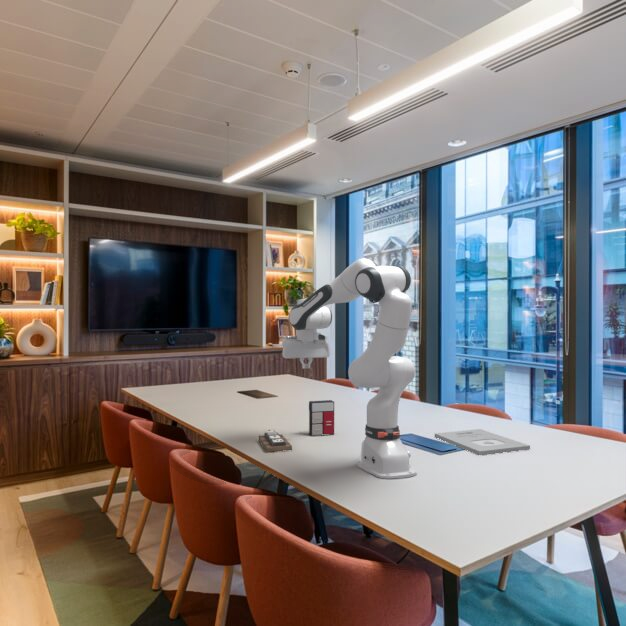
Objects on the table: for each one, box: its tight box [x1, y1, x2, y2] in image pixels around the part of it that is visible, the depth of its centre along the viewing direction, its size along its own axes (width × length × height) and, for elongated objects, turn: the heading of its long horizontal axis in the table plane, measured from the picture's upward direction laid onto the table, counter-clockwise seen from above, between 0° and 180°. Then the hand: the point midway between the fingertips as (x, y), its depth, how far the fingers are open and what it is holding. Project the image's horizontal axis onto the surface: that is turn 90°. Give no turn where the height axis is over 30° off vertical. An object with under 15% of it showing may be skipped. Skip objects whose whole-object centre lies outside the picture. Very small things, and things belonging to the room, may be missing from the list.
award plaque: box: [434, 428, 531, 456], centre depth 208 cm, size 25×30×2 cm
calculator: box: [308, 399, 335, 436], centre depth 222 cm, size 11×4×15 cm, turn 105°
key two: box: [265, 429, 279, 435], centre depth 210 cm, size 4×4×2 cm
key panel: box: [258, 432, 293, 453], centre depth 204 cm, size 19×10×3 cm, turn 16°
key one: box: [269, 434, 280, 439], centre depth 204 cm, size 4×4×2 cm
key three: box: [272, 439, 284, 443], centre depth 198 cm, size 4×4×2 cm
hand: (306, 368), depth 210 cm, fingers closed
